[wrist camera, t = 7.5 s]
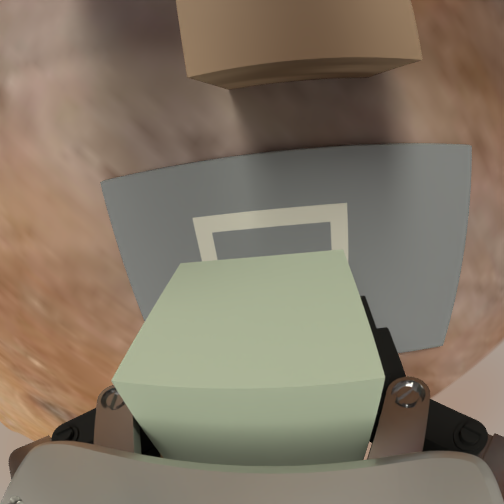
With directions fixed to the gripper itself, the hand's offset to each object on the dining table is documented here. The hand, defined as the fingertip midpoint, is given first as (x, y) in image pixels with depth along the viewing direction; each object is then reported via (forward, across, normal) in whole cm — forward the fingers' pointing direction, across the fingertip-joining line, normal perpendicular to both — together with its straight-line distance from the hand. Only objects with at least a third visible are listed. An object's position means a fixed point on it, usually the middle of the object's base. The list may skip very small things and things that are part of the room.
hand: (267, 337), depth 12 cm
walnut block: (+5, -2, -12) cm, 13 cm away
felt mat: (+5, -1, 0) cm, 5 cm away
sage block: (+1, 0, 0) cm, 1 cm away
